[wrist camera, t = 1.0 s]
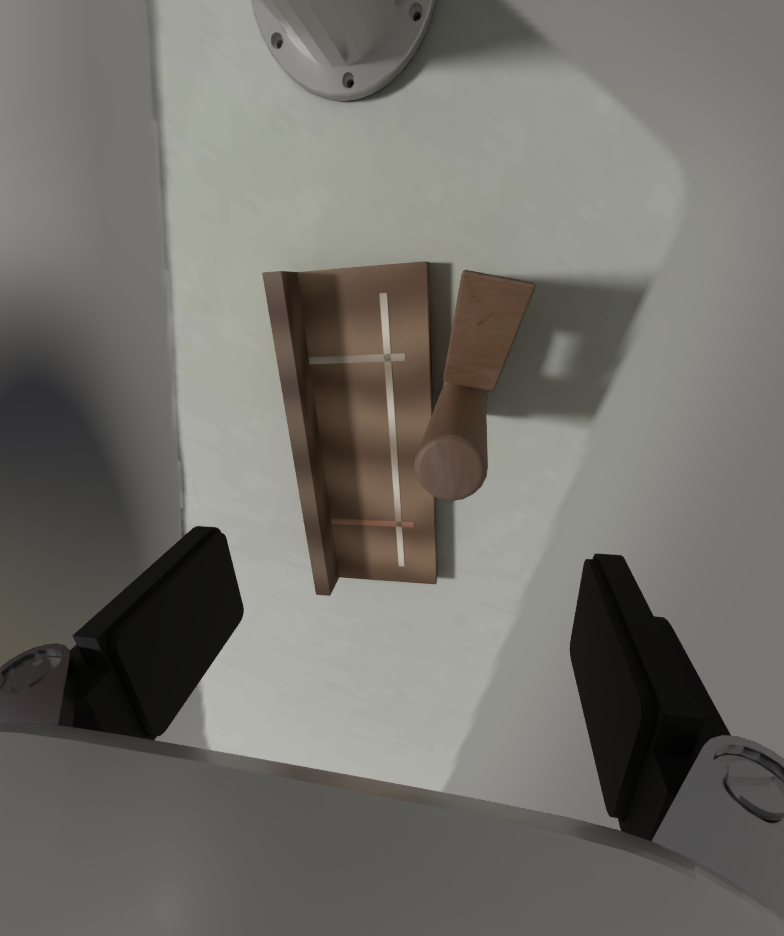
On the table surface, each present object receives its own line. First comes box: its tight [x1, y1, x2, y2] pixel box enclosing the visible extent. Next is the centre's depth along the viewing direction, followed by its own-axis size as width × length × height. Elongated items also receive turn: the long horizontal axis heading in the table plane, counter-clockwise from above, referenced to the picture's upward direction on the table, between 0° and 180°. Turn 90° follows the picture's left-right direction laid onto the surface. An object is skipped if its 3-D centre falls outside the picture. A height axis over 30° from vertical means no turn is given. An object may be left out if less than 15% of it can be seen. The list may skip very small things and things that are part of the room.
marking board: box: [262, 261, 438, 596], centre depth 38 cm, size 30×12×4 cm, turn 4°
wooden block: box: [414, 270, 535, 501], centre depth 27 cm, size 4×11×18 cm, turn 170°
